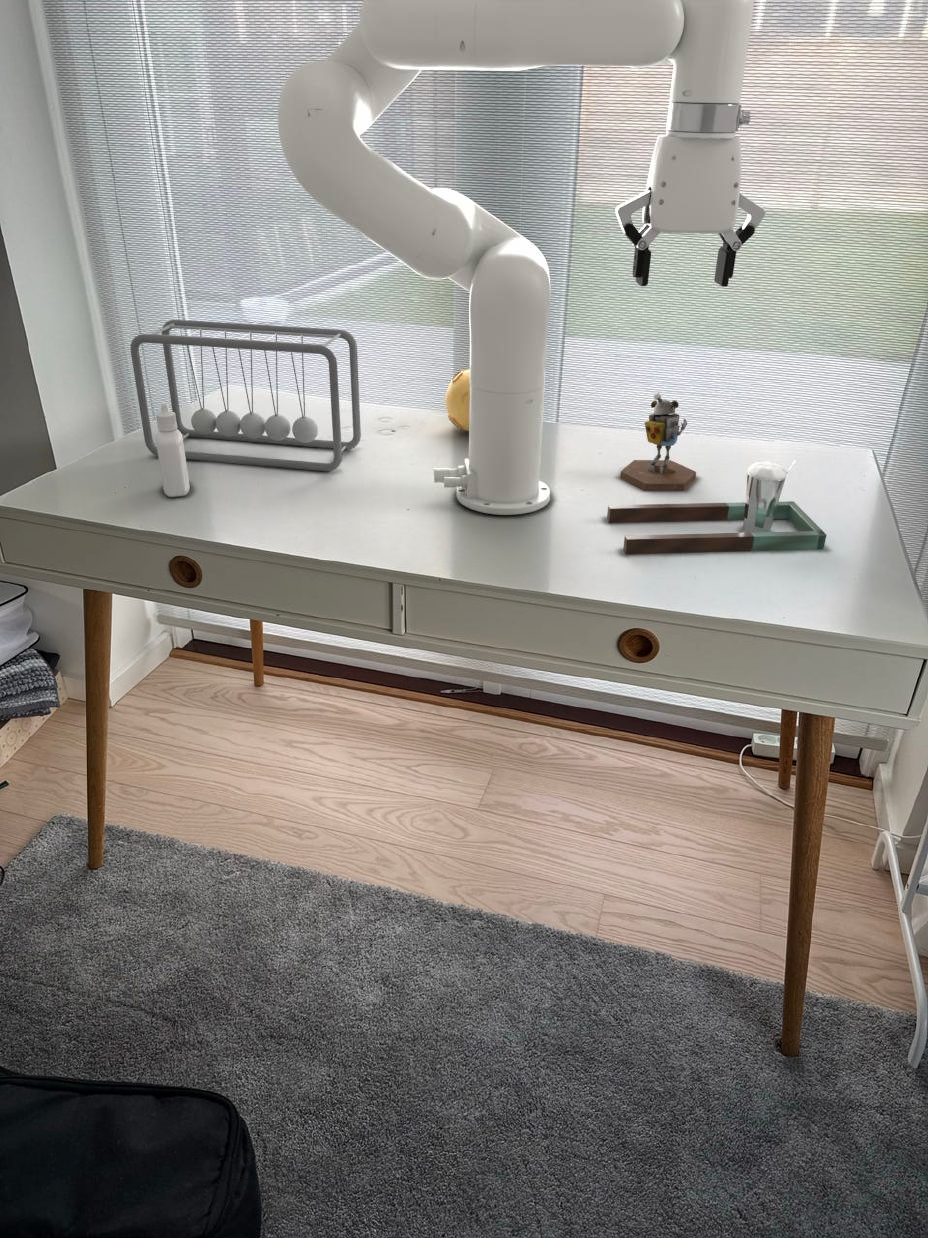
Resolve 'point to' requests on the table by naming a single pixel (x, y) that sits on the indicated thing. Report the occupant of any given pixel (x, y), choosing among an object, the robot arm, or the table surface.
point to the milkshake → (762, 495)
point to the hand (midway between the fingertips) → (681, 284)
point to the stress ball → (459, 400)
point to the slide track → (802, 539)
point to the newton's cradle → (252, 422)
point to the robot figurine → (660, 433)
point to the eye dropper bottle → (171, 454)
